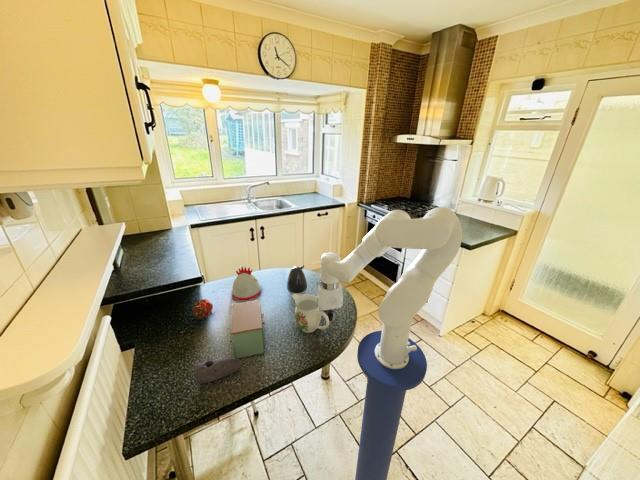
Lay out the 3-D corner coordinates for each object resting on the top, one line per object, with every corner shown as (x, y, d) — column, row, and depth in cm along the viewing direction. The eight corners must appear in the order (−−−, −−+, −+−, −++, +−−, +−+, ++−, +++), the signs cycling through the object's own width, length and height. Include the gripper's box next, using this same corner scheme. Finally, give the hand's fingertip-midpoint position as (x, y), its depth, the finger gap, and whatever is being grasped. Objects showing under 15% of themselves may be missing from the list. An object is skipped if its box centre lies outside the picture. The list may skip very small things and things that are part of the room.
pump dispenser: (311, 292, 132) (311, 266, 125) (297, 301, 124) (296, 275, 118) (297, 284, 138) (296, 259, 131) (283, 293, 130) (281, 267, 124)
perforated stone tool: (242, 363, 92) (240, 349, 89) (243, 375, 88) (241, 361, 85) (197, 375, 88) (193, 361, 85) (196, 389, 83) (192, 374, 80)
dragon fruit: (201, 328, 110) (203, 314, 121) (217, 314, 111) (217, 301, 121) (185, 317, 106) (189, 303, 117) (201, 303, 107) (203, 290, 118)
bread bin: (264, 322, 111) (262, 299, 106) (267, 352, 97) (264, 327, 91) (236, 327, 108) (232, 303, 103) (235, 359, 94) (230, 333, 89)
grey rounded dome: (257, 300, 125) (254, 274, 119) (229, 300, 125) (224, 274, 119) (263, 284, 137) (260, 260, 131) (237, 284, 138) (233, 259, 131)
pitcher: (321, 345, 100) (321, 318, 94) (285, 327, 109) (283, 301, 103) (335, 328, 108) (336, 302, 102) (301, 312, 117) (300, 288, 111)
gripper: (313, 290, 96) (313, 328, 104) (351, 285, 100) (348, 322, 107) (309, 280, 103) (309, 315, 111) (344, 275, 106) (342, 310, 114)
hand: (328, 318), depth 109 cm, fingers closed
